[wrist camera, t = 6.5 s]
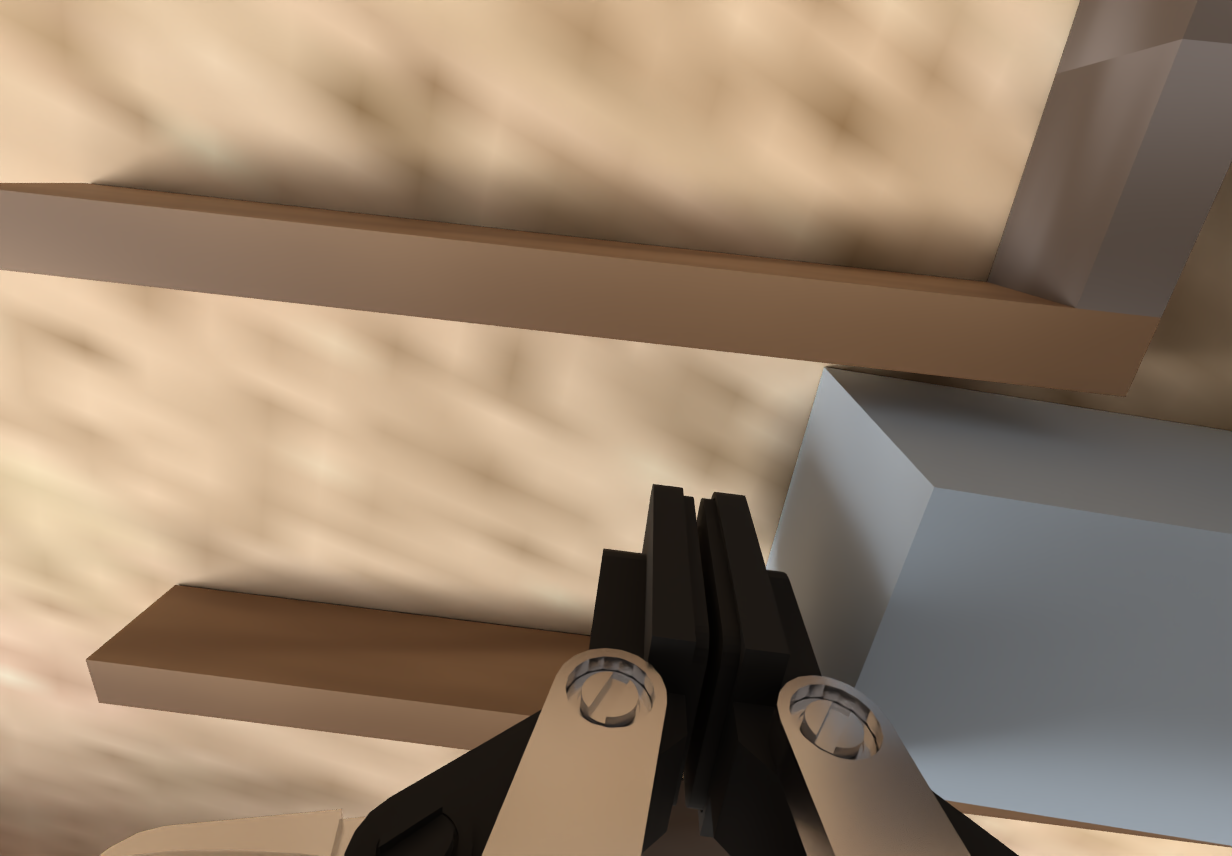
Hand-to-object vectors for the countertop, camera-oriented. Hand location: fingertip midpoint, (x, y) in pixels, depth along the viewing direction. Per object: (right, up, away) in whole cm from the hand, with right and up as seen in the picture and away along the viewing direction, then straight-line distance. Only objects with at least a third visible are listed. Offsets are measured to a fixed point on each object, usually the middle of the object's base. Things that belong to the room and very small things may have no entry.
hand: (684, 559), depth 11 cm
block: (+7, +1, +2) cm, 7 cm away
